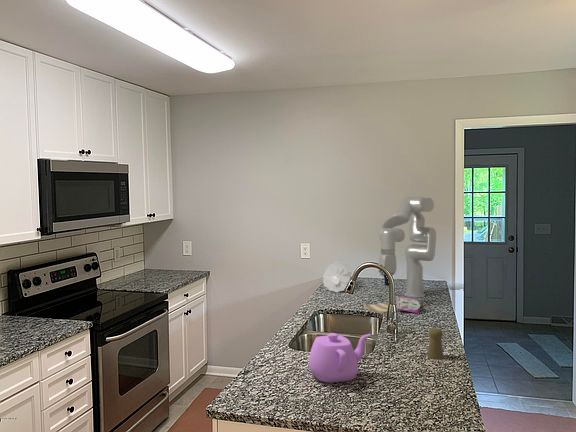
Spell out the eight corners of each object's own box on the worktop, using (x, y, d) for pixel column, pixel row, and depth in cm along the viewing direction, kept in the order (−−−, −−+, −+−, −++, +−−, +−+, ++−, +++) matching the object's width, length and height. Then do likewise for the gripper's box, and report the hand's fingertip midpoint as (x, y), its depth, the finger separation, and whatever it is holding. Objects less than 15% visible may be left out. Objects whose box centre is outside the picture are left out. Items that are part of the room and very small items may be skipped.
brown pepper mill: (443, 355, 190) (443, 327, 190) (443, 360, 185) (443, 332, 184) (427, 353, 192) (428, 326, 192) (427, 358, 187) (427, 330, 186)
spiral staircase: (329, 299, 304) (333, 289, 328) (354, 288, 300) (356, 278, 324) (316, 273, 304) (321, 265, 328) (341, 262, 300) (344, 254, 324)
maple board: (382, 304, 273) (382, 302, 273) (403, 310, 260) (403, 307, 260) (363, 308, 264) (363, 306, 264) (383, 314, 252) (383, 312, 252)
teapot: (320, 392, 156) (320, 347, 156) (304, 369, 177) (303, 328, 176) (385, 385, 162) (385, 341, 161) (362, 363, 182) (362, 324, 181)
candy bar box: (396, 302, 270) (397, 309, 254) (397, 294, 270) (399, 300, 254) (416, 306, 269) (418, 314, 252) (417, 298, 268) (420, 304, 252)
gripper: (392, 250, 270) (392, 282, 271) (373, 252, 261) (373, 286, 262) (402, 251, 264) (402, 285, 265) (383, 254, 255) (383, 288, 256)
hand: (387, 285), depth 263 cm, fingers closed
